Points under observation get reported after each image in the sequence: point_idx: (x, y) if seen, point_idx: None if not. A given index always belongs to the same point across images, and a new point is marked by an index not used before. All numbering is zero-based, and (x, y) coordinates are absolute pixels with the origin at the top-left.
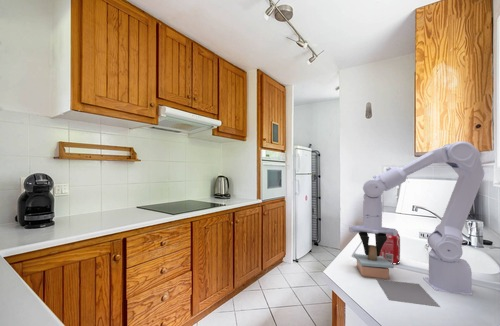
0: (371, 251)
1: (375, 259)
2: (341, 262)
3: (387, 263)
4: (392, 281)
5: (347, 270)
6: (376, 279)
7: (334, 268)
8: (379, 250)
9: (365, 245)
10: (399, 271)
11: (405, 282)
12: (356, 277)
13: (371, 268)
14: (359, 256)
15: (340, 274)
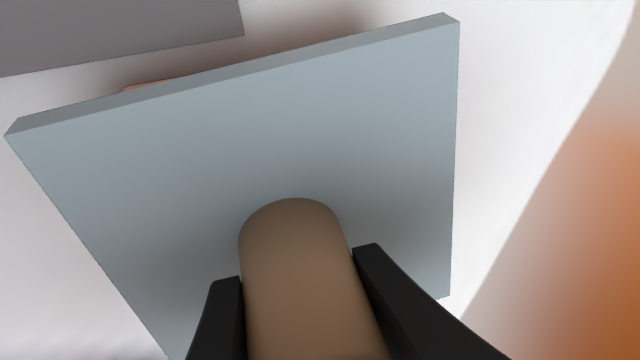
0: (331, 286)
1: (259, 221)
2: (472, 245)
3: (104, 188)
4: (82, 46)
5: (461, 129)
6: (240, 24)
7: (554, 119)
8: (209, 346)
9: (466, 337)
10: (52, 303)
11: None
12: (415, 15)
13: None
14: (413, 255)
15: (541, 18)
